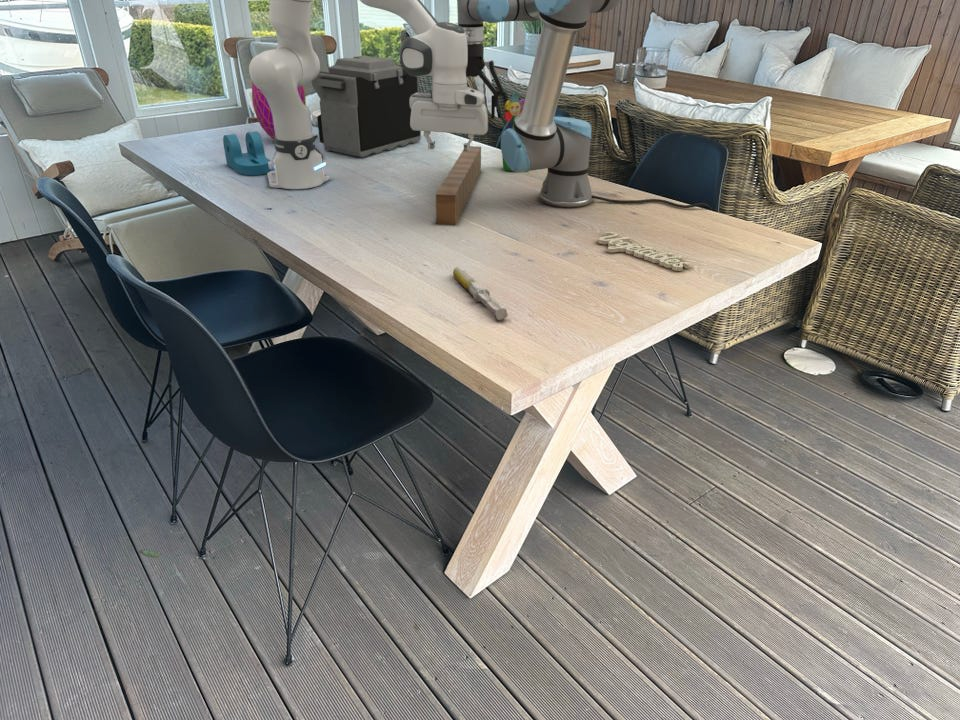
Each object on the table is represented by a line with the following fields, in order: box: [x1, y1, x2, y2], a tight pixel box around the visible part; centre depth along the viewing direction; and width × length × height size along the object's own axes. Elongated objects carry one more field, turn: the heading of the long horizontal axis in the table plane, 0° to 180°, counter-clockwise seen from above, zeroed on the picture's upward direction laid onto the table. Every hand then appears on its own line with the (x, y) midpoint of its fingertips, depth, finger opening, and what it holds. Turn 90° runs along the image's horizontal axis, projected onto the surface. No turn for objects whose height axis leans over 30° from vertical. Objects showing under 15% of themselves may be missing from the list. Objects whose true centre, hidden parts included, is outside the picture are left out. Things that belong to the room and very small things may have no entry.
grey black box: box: [311, 55, 422, 159], centre depth 250 cm, size 37×22×30 cm, turn 144°
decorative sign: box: [598, 231, 690, 272], centre depth 167 cm, size 26×1×10 cm
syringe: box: [452, 266, 509, 321], centre depth 145 cm, size 25×4×3 cm, turn 21°
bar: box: [435, 145, 482, 226], centre depth 205 cm, size 53×5×8 cm, turn 173°
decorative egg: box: [251, 81, 307, 140], centre depth 257 cm, size 19×19×30 cm
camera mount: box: [222, 131, 272, 176], centre depth 226 cm, size 18×10×10 cm, turn 35°
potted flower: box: [500, 91, 525, 172], centre depth 226 cm, size 9×8×25 cm
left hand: (449, 149), depth 181 cm, fingers open, 8 cm apart
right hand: (471, 117), depth 214 cm, fingers open, 13 cm apart
